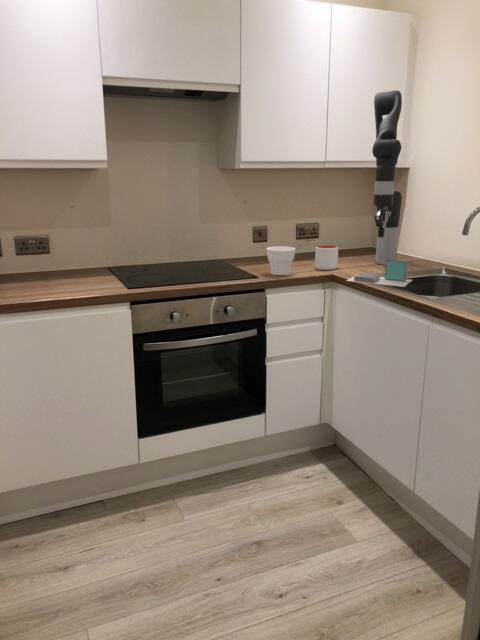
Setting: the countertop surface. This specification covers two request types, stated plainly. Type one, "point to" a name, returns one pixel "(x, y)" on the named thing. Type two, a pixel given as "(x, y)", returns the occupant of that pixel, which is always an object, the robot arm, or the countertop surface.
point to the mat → (385, 282)
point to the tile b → (396, 270)
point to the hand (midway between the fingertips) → (380, 237)
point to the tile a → (366, 277)
